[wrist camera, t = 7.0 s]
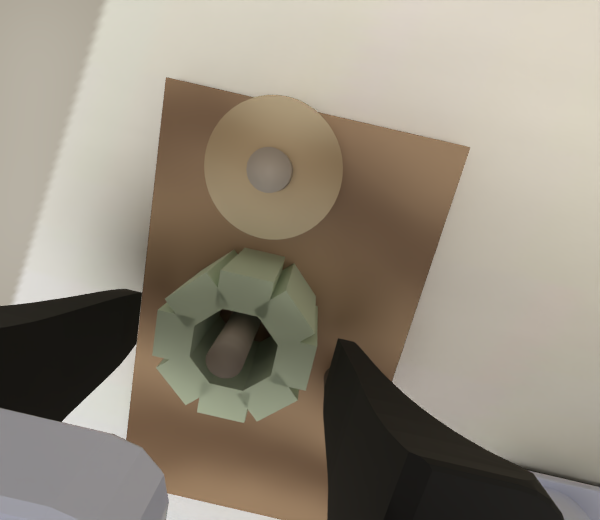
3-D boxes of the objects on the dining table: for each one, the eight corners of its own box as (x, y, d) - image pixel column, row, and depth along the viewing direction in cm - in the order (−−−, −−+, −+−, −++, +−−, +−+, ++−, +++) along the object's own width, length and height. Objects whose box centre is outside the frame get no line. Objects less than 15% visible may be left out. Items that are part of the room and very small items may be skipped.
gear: (300, 376, 15) (294, 434, 12) (185, 350, 15) (146, 400, 12) (327, 266, 14) (330, 295, 11) (202, 237, 14) (164, 257, 11)
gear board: (340, 518, 18) (348, 650, 13) (129, 469, 18) (56, 582, 13) (461, 149, 13) (549, 130, 8) (174, 83, 13) (85, 23, 8)
